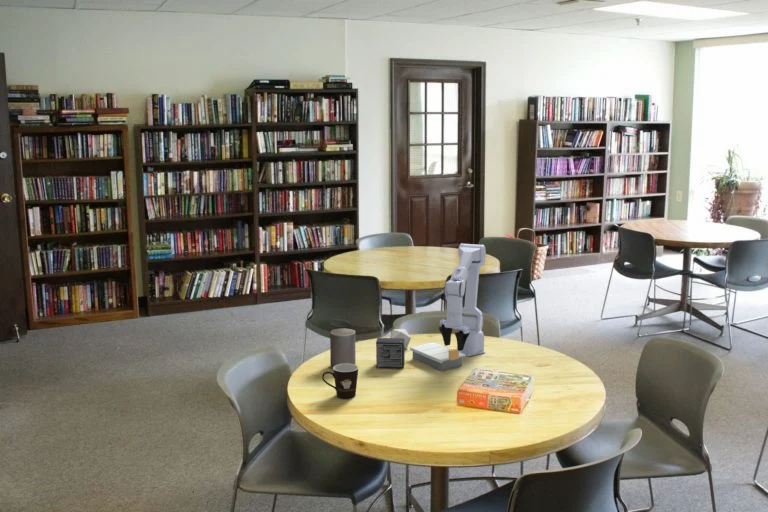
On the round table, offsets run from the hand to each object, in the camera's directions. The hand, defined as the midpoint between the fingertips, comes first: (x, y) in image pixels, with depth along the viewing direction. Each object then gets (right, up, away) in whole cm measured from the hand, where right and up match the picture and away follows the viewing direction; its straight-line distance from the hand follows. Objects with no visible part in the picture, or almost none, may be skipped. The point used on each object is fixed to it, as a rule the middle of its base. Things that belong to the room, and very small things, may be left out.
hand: (453, 347), depth 282 cm
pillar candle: (-42, -8, +5) cm, 43 cm away
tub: (-6, -7, +10) cm, 13 cm away
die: (-20, -4, +28) cm, 34 cm away
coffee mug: (-40, -14, -24) cm, 49 cm away
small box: (-24, -8, +6) cm, 26 cm away
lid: (-5, -4, +9) cm, 11 cm away
